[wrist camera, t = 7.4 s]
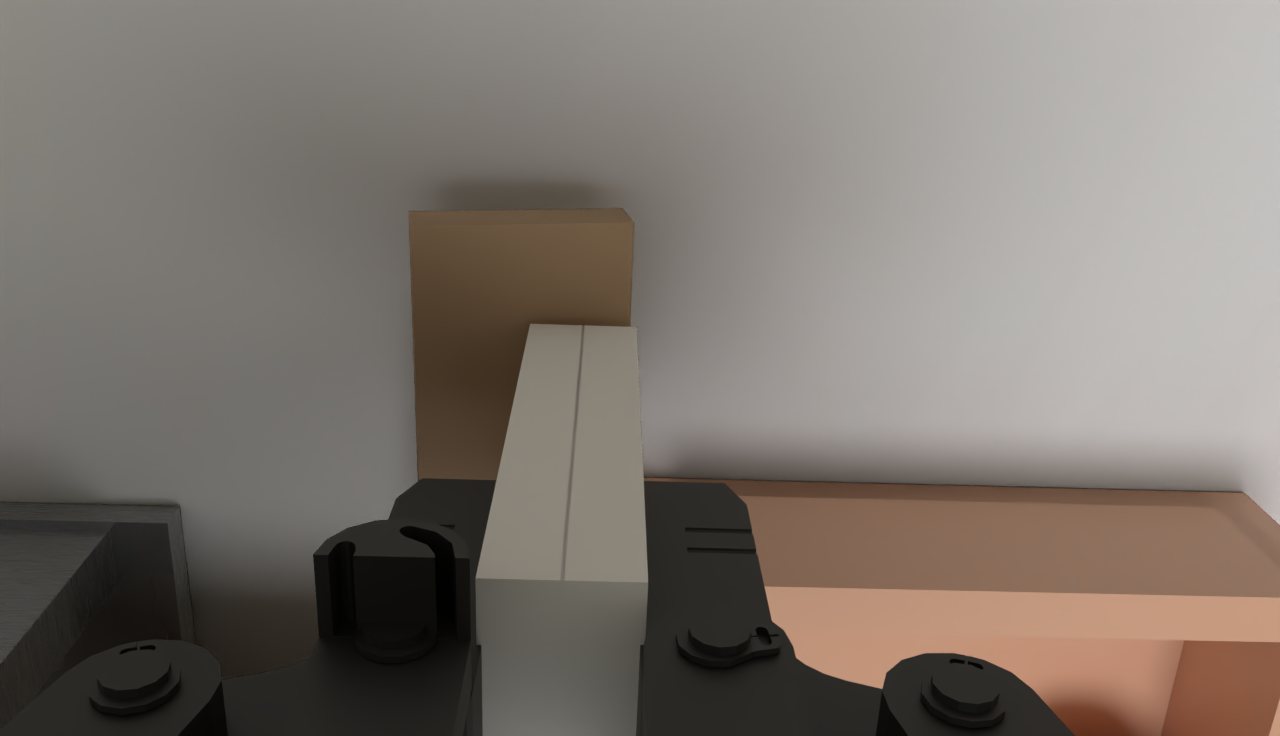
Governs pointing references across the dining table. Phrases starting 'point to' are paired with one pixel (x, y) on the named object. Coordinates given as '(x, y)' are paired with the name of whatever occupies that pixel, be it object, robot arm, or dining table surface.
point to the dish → (1037, 594)
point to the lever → (500, 315)
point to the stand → (84, 588)
